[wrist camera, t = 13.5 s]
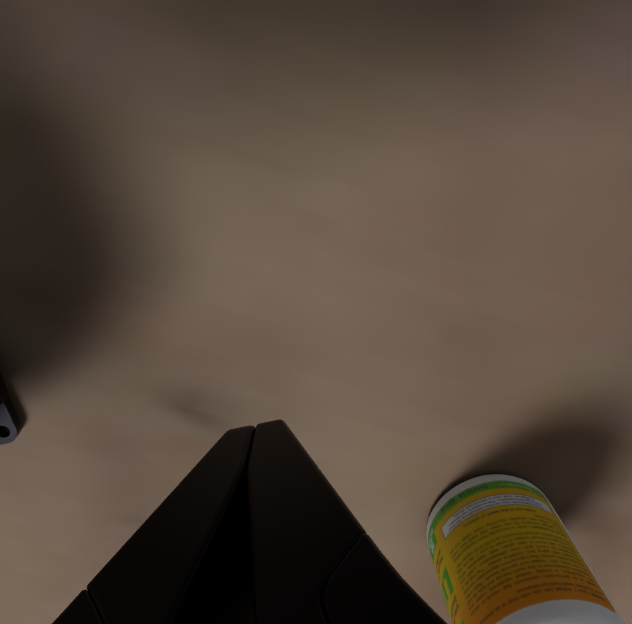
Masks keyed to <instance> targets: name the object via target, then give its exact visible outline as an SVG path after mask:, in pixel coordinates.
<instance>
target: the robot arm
mask: <svg viewBox="0 0 632 624" xmlns="http://www.w3.org/2000/svg"><path fill="white" fill-rule="evenodd" d="M8 393H9V392H8V389H7V387H6V385H5V383H4V381H3V379H2V376H1V374H0V445H1V444H6V443H10V442H12V441H14V439H15V438H16V437H17V436H18V434H19V433H20V432H21V428H22V427H21V423H20V420H19V418H18V416H17V414H16V412H15V410H14V408H13V406H12V403H11V401H10V399H9V397H8ZM1 426H5V427H7V428H8V429H9V430H10V431H5V430H3V429H2V428H1ZM87 590H88V591H87ZM87 590H82V591H81V592H80V594H79V595H78V596H77V597H76V598H75V599H74V600H73V601H72V602H71V603H70V605H69V606H68V607H67V608H66V609H65V610H64V611H63V612H62V613H61V614H60V615H59V617H58V618H57V619H56V620H55V621H54V622H53V623H52V624H447V623H446V622H445V621H444V620H443V619H442V618H441V617H440V616H439V615H438V614H437V613H436V612H435V611H434V610H433V609H432V608H431V607H430V606H429V605H428V604H427V603H426V602H425V601H424V600H423V599H422V598H421V597H420V596H419V595H418V594H417V593H416V592H415V591H414V590H413V589H412V588H411V587H410V586H409V584H408V583H407V582H406V581H405V580H404V579H403V578H402V577H401V576H400V575H399V573H398V572H397V571H396V570H395V568H394V567H393V566H392V565H391V564H390V562H389V561H388V560H387V559H386V557H385V556H384V555H383V554H382V552H381V551H380V550H379V548H378V547H377V546H376V544H375V543H374V542H373V540H372V539H371V538H370V536H369V535H367V533H366V531H365V530H364V529H363V527H362V526H361V525H360V523H359V522H358V521H357V519H356V518H355V517H354V515H353V514H352V512H351V511H350V510H349V508H348V507H347V506H346V504H345V503H344V502H343V500H342V499H341V498H340V496H339V495H338V494H337V492H336V491H335V489H334V488H333V487H332V485H331V484H330V483H329V481H328V480H327V479H326V477H325V476H324V475H323V473H322V472H321V471H320V469H319V468H318V466H317V465H316V464H315V462H314V461H313V460H312V458H311V457H310V456H309V454H308V453H307V452H306V450H305V449H304V448H303V446H302V445H301V443H300V442H299V441H298V439H297V438H296V437H295V435H294V434H293V433H292V431H291V430H290V429H289V427H288V426H287V425H286V423H285V422H284V421H283V420H274V421H269V422H265V423H260V424H258V425H257V426H256V428H255V427H254V426H245V427H240V428H235V429H230V430H228V431H227V432H226V433H225V434H224V435H223V436H222V437H221V438H220V439H219V440H218V442H217V443H216V444H215V445H214V446H213V447H212V448H211V449H210V450H209V452H208V453H207V454H206V455H205V456H204V457H203V458H202V459H201V460H200V461H199V463H198V464H197V465H196V466H195V467H194V468H193V469H192V470H191V471H190V472H189V474H188V475H187V476H186V477H185V478H184V479H183V480H182V481H181V482H180V483H179V485H178V486H177V487H176V488H175V489H174V490H173V491H172V492H171V493H170V495H169V496H168V497H167V498H166V499H165V500H164V501H163V502H162V503H161V504H160V506H159V507H158V508H157V509H156V510H155V511H154V512H153V513H152V514H151V515H150V517H149V518H148V519H147V520H146V521H145V522H144V523H143V524H142V525H141V527H140V528H139V529H138V530H137V531H136V532H135V533H134V534H133V535H132V536H131V538H130V539H129V540H128V541H127V542H126V543H125V544H124V545H123V546H122V547H121V549H120V550H119V551H118V552H117V553H116V554H115V555H114V556H113V557H112V559H111V560H110V561H109V562H108V563H107V564H106V565H105V566H104V567H103V568H102V570H101V571H100V572H99V573H98V574H97V575H96V576H95V577H94V578H93V579H92V581H91V582H90V583H89V584H88V585H87Z"/></svg>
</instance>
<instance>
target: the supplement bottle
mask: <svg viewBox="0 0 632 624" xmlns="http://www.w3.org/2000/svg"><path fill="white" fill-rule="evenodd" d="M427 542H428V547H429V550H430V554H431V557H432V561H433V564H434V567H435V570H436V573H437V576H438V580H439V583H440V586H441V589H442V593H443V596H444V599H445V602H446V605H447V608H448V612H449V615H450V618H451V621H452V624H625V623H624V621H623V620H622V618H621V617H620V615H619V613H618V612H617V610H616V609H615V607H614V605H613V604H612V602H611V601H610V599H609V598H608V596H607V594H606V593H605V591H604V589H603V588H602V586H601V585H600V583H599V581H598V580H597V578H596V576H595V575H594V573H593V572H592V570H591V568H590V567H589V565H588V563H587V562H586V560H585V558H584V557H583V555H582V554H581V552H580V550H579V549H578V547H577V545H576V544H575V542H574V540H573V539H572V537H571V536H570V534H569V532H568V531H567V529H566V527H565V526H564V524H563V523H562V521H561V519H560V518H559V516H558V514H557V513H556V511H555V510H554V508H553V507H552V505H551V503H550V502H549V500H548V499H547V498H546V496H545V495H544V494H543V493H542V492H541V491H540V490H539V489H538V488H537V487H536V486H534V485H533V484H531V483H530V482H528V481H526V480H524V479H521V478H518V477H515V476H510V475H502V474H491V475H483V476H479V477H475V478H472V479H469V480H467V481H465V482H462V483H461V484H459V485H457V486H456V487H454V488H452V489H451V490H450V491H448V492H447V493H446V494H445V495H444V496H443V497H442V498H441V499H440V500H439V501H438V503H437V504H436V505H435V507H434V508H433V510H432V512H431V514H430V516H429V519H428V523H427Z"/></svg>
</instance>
